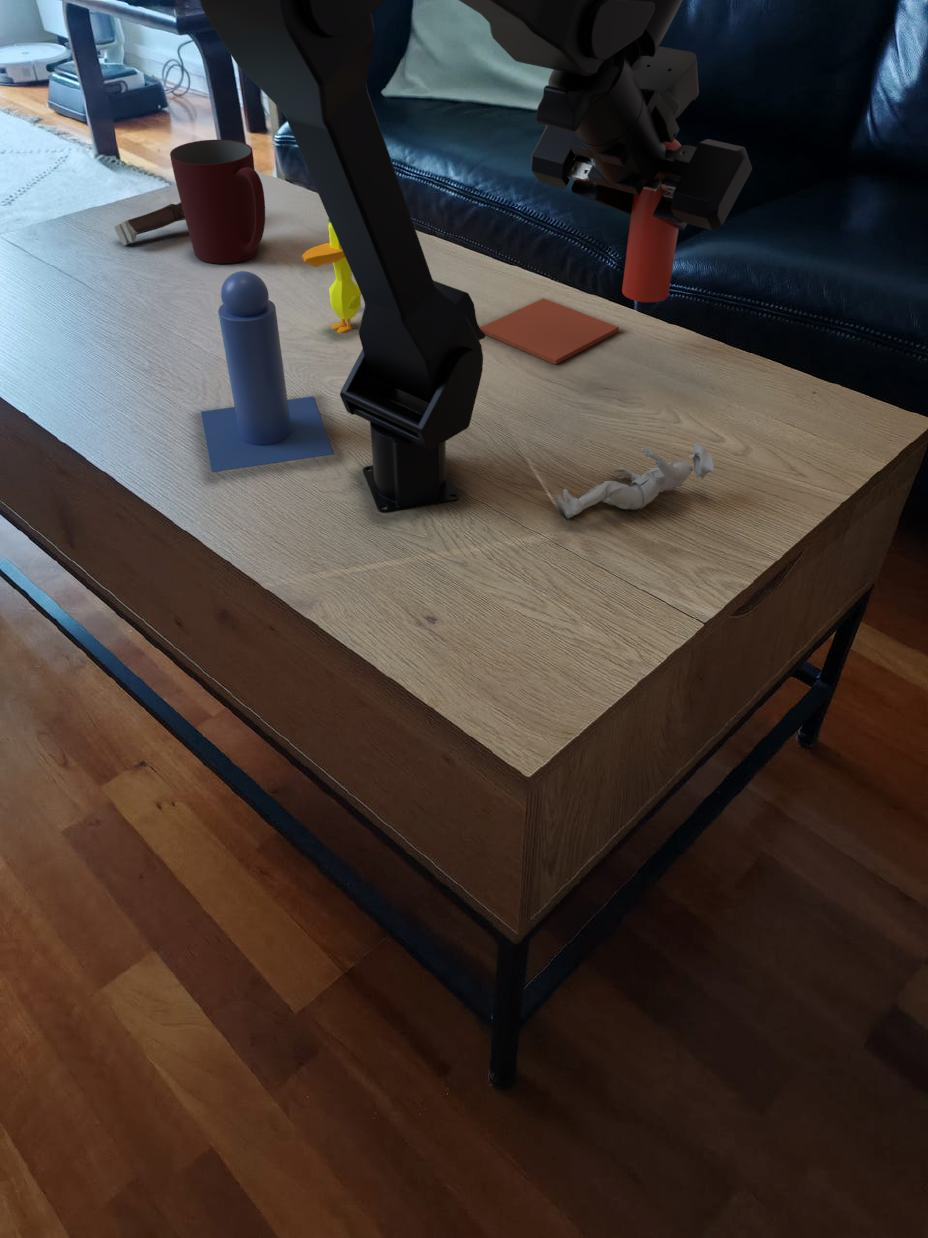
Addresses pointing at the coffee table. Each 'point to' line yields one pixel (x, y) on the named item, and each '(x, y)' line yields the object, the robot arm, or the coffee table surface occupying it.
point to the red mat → (549, 330)
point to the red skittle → (649, 248)
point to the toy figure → (337, 279)
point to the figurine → (149, 222)
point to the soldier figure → (639, 483)
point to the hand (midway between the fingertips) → (662, 218)
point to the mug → (220, 199)
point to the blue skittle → (254, 359)
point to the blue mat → (237, 453)
